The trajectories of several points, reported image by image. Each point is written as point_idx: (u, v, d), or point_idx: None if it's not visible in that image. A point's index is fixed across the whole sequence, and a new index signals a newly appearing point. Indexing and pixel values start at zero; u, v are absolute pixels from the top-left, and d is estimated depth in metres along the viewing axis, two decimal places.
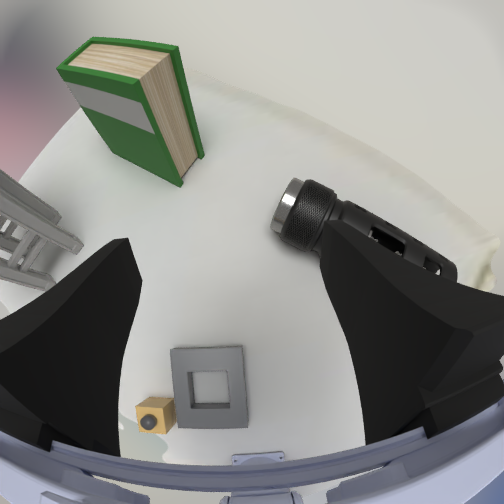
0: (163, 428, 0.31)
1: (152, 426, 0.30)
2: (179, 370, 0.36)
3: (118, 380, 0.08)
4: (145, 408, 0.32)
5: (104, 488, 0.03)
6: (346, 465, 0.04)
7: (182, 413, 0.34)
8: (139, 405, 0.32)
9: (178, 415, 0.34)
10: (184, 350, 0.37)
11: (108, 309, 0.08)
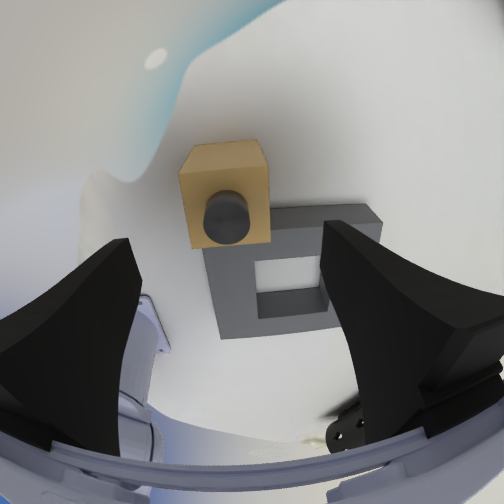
0: (207, 242, 0.14)
1: (220, 240, 0.12)
2: None
3: (118, 380, 0.08)
4: (263, 195, 0.13)
5: (104, 488, 0.03)
6: (346, 465, 0.04)
7: (240, 246, 0.18)
8: None
9: None
10: None
11: (108, 309, 0.08)
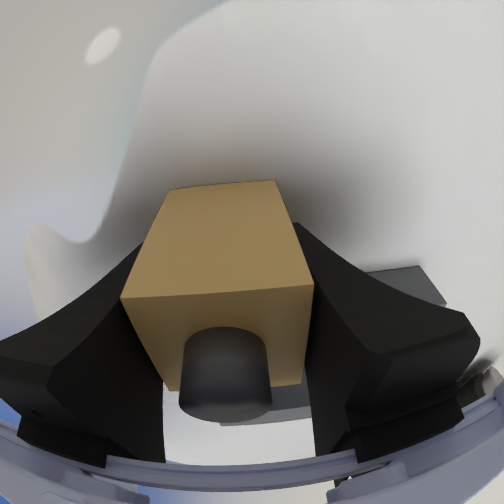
0: None
1: (215, 419, 0.06)
2: None
3: (161, 382, 0.08)
4: (298, 332, 0.06)
5: (104, 488, 0.03)
6: (346, 465, 0.04)
7: None
8: None
9: None
10: None
11: None
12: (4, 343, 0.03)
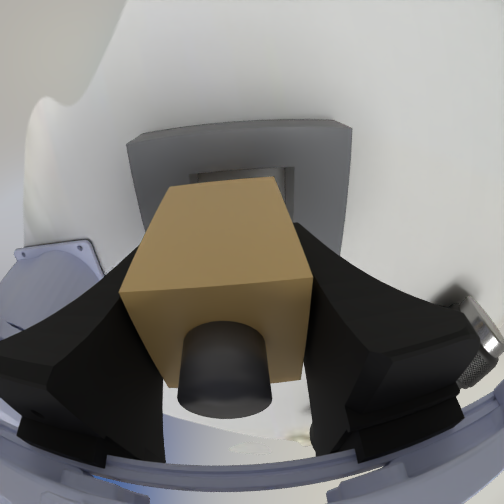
0: None
1: (214, 415, 0.06)
2: (297, 147, 0.14)
3: (161, 383, 0.08)
4: (297, 326, 0.06)
5: (104, 488, 0.03)
6: (346, 465, 0.04)
7: (170, 154, 0.14)
8: None
9: (163, 142, 0.13)
10: (347, 164, 0.15)
11: None
12: (4, 343, 0.03)
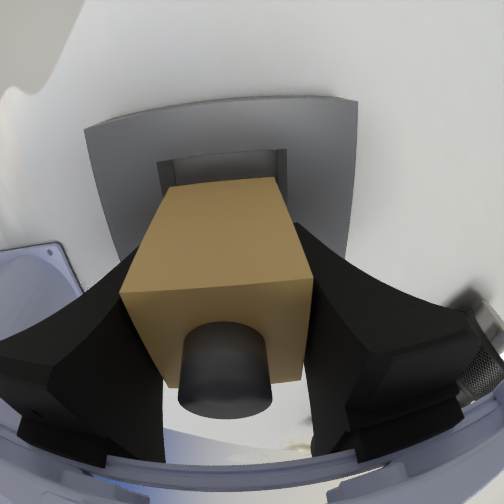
0: None
1: (214, 416, 0.06)
2: (290, 125, 0.11)
3: (161, 382, 0.08)
4: (297, 327, 0.06)
5: (104, 488, 0.03)
6: (346, 465, 0.04)
7: (133, 138, 0.11)
8: None
9: (124, 124, 0.10)
10: (353, 146, 0.11)
11: None
12: (4, 343, 0.03)
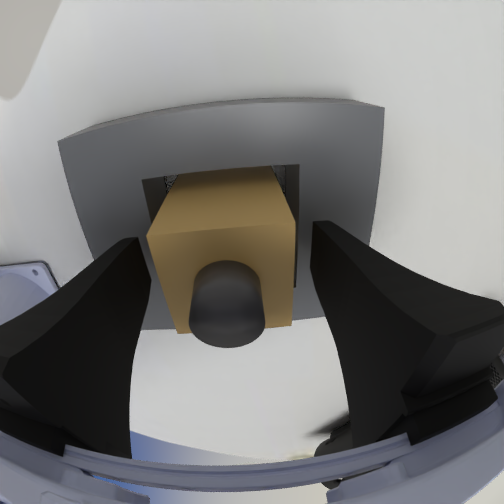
0: None
1: (217, 343, 0.08)
2: (304, 135, 0.09)
3: (129, 381, 0.08)
4: (286, 267, 0.08)
5: (104, 488, 0.03)
6: (346, 465, 0.04)
7: (114, 151, 0.09)
8: None
9: (103, 135, 0.08)
10: (377, 161, 0.09)
11: (119, 309, 0.08)
12: None
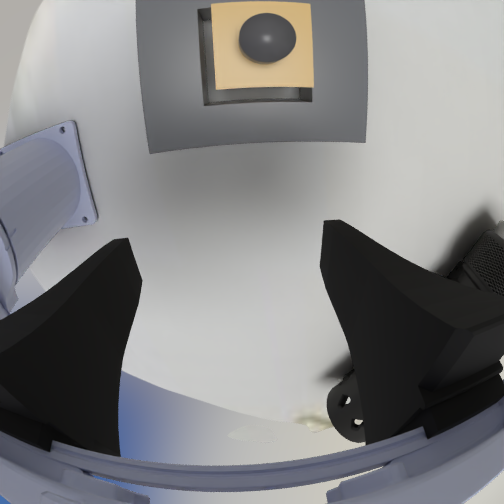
0: (236, 80, 0.10)
1: (259, 55, 0.08)
2: None
3: (118, 380, 0.08)
4: (306, 31, 0.09)
5: (104, 488, 0.03)
6: (346, 465, 0.04)
7: None
8: None
9: None
10: (363, 13, 0.10)
11: (108, 309, 0.08)
12: None
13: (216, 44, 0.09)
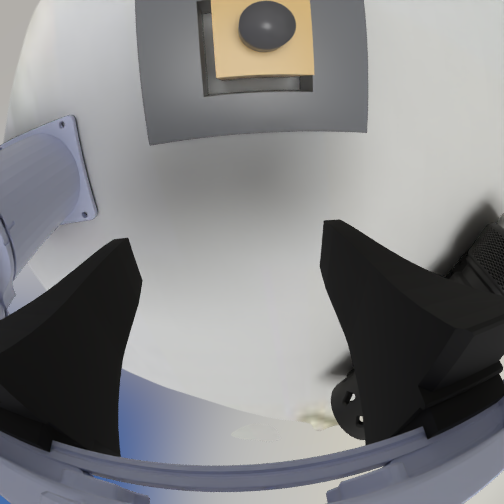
0: (236, 69, 0.09)
1: (259, 41, 0.08)
2: None
3: (117, 380, 0.08)
4: (305, 20, 0.08)
5: (104, 488, 0.03)
6: (346, 465, 0.04)
7: None
8: None
9: None
10: (361, 4, 0.10)
11: (108, 309, 0.08)
12: None
13: (216, 33, 0.09)
